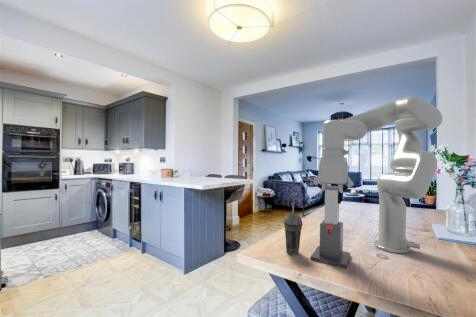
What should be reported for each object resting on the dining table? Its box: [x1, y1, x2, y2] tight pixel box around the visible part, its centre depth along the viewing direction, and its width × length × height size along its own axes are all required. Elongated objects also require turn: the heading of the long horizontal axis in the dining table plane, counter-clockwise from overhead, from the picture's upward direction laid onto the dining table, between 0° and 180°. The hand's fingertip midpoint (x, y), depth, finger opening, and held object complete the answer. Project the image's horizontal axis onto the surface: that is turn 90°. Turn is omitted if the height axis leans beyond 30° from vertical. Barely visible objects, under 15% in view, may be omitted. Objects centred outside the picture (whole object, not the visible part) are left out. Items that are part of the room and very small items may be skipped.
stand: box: [310, 219, 351, 269], centre depth 87 cm, size 12×12×13 cm
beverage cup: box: [283, 202, 303, 256], centre depth 91 cm, size 7×7×20 cm
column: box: [324, 185, 340, 226], centre depth 87 cm, size 4×4×20 cm
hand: (332, 201), depth 87 cm, fingers closed on column, 4 cm apart
